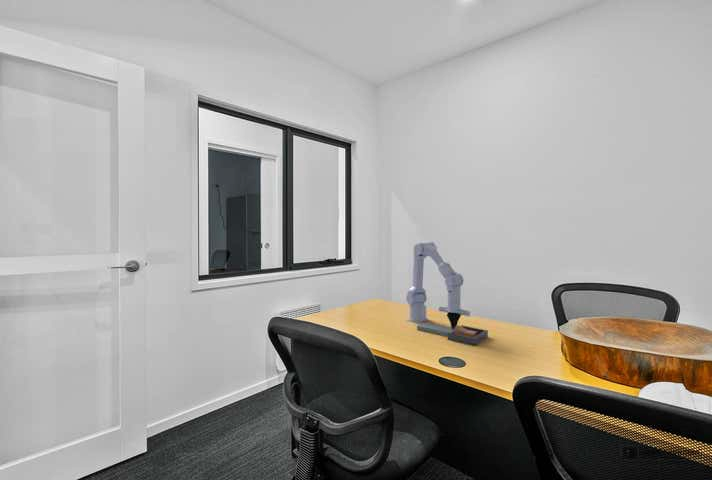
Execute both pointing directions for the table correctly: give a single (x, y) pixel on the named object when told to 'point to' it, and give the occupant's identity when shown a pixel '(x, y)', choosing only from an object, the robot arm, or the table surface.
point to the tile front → (470, 333)
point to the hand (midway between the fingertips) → (453, 328)
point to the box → (469, 340)
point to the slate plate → (435, 329)
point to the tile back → (459, 330)
